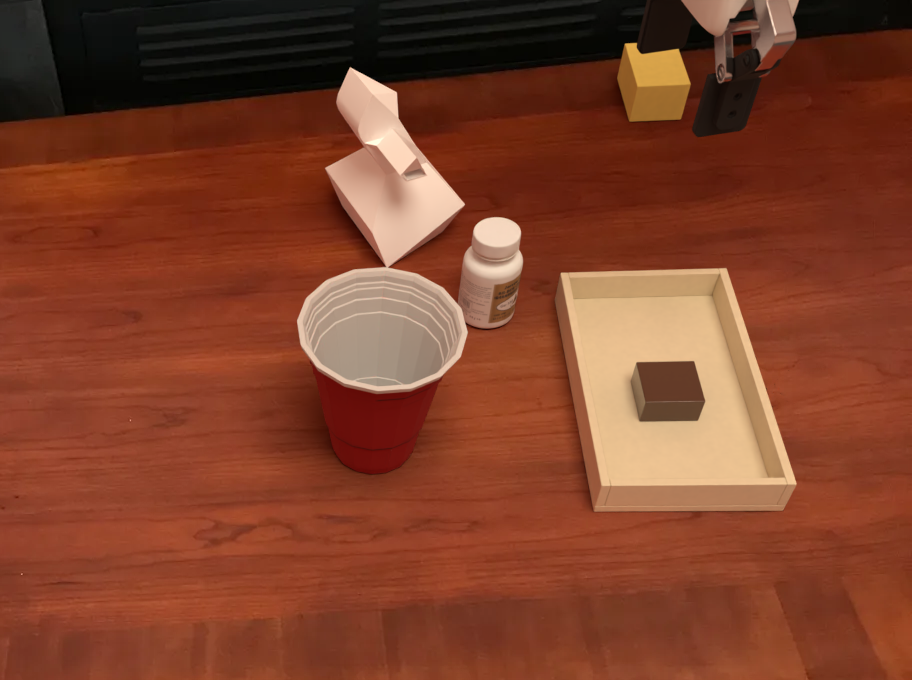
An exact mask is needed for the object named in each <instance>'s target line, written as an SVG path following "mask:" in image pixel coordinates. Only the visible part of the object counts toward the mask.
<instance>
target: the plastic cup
mask: <svg viewBox="0 0 912 680" xmlns="http://www.w3.org/2000/svg"><path fill="white" fill-rule="evenodd" d="M296 323H297V330H298V337H299V343H300V347H301V350H302V351H303V353H304V354H305V356H306V357H307V358H308V360H309V364H310V365H311V369H312V373H313V376H314V378H315V380H316V381H315V382H316V385H317V390H318V394H319V398H320V404H321V409H322V412H323V417H324V421H325V425H326V426H327V428H328V433H329V437H330V442H331V447H332V449H333V452H334V454H335V455H336V457H337V458H338V459H339V460H340V462H341V463H342V464H343V465H344V466H346V467H348V468H350V470H353V471H354V472H358V473H362V474H366V475H367V474H368V475H378V474H386V473H389V472H391V471H394V470H396V469H398V468H400V467H402V465H404V463H405V462H406V461H408V459H409V458H410V456H411V455H412V453H413V452H414V450H415V446H416V442H417V440H418V436H419V435H420V432H421V430H422V429H423V427H424V424H425V421H426V420H427V419H426V418H427V416H428V414H429V410H430V408H431V406H432V403H433V400H434V397H435V395H436V392H437V389H438V387H439V384H440V383H441V382H442V380H443V378H444V375H445V374H446V373H447V372H448V371H450V369H451V368H452V367H453V366H454V365H455V364H456V363H457V362H458V361H459V360H460V359H461V357H462V354H463V350H464V347H465V344H466V340H467V337H468V334H469V331H468V328H467V323H466V322H465V320H464V316H463V312H462V309H461V307H460V306H459V305H458V302H457V301H456V300H455V299H454V298H453V297H452V296H451V294H449V292H448V291H447V290H446V289H445V287H443V286H442V285H439V284H437V283H436V282H433V281H431V280H430V279H428V278H426V277H424V276H423V275H421V274H419V273H416V272H411V271H407V270H402V269H397V268H391V267H388V268H387V267H386V266H382V267H381V266H380V267H367V268H357V269H355V268H354V269H352V270H349V271H346V272H344V273H341V274H339V275H335V276H333V277H330V278H328V279H326V280H325V281H324V282H322V283H321V284H320V285H319V286H317V287H316V289H314V290H313V291H312V292H311V293H310V294H309V295H307V297H306V298H305V299H304V301H303V305H302V308H301V309H300V312H299V315H298V317H297V320H296Z"/></svg>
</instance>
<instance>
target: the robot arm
mask: <svg viewBox="0 0 912 680" xmlns="http://www.w3.org/2000/svg"><path fill="white" fill-rule="evenodd" d="M799 1H800V0H646V4H645V7H644V11H643V16H642V20H641V25H640V29H639V33H638V37H637V41H636V43H637V49H638V51H639V52H640V53H641V54H647V53H654V52H661V51H667V50H674V49H679V50H681V49H683V48H684V47H685V46H686V45H687V42H688V39H689V34H690V31H691V26H692V23H693V19H695V20H696V21H697V23H698V24H699V25H700V26H701V27H702V28H703V29H704V30H705V31H706V32H708V33H709V34H711V35H713V43H714V44H713V45H714V46H713V48H714V67H715V69H714V70H715V72H713V73H707V75H706V78H705V81H704V85H703V89H702V92H701V95H700V99H699V101H698V106H697V108H696V109H697V110H696V113H695V116H694V120H693V123H692V127H691V131H692V133H693V134H694V136H695V137H696V138H702V137H703V138H704V137H709V136H715V135H716V136H717V135H722V134H724V135H725V134H730V133H737V132H741V131H742V130H744V129H745V128H746V126H747V125H748V121H749V118H750V115H751V113H752V109H753V106H754V104H755V101H756V97H757V94H758V91H759V88H760V85H761V82H762V79H763V78H766V77H768V76H769V75H770V73H771V72H772V71H773V70H775V69H776V68H778V67H779V65H780V64H781V61H782V59H783V57H784V56H785V54H786V53H788V51H789V50H790V48H791V47H793V45H794V43H795V42H796V39H797V28H796V25H795V21H794V18H793V17H794V15H795V13H796V10H797V8H798V5H799ZM751 10H752V18H750V19H744V20H738V21H736V20H735V21H731V20H730V19H735V18H736V17H737V16H738V15H739V13H740V12H745V11H751ZM745 34H750V39H751V42H750V43H751V48H749V49H746V50H744V51H742V52H740V53H738V54H737V55H736V56H734V36H738V35H745Z"/></svg>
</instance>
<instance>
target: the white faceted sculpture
mask: <svg viewBox="0 0 912 680" xmlns="http://www.w3.org/2000/svg"><path fill="white" fill-rule="evenodd" d="M335 104H336V107H337V110H338V111H339V113H340V114H341V116H342V117H343V119H344V120H345V122H346V123H347V124H348V126H349V128H350V129H351V130H352V132H353V133H354V134H355V136H356V137H357V139H358V140H359V142H360V144H361V145H362V148H360V149H358V150H356V151H355V152H352V153H351V154H349V155H347V156H345V157H342V158H340V159H339V160H338V161H336V162H333V163H332V164H330V165H328V166H326V167H324V169H325V172H326V174H327V176H328V179H329V180H330V182H331V185H332V187H333V189H334V191H335V193H336V196H337V198H338V200H339V202H340V205H341V206H342V209H343V210H345V212H346V213H347V215H348V216H349V218H350V219H351V221H352V222H353V223H354V224H355V226H356V227H357V229H358V230H359V231H360V233H361V234H362V235H363V237H364V239H365V240H366V241H367V243H368V245H370V246H371V248H372V249H373V251H374V252H375V254H376V255H377V256H378V257H379V259H380V261H381V262H382V263H383V265H384V267H387V268H390V267H391V266H393V265H394V264H396V263H397V262H399V261H400V260H401V259H403V258H405V257H406V256H408V255H409V254H411V253H412V252H414V251H415V250H417V249H418V248H421V247H422V246H424V245H425V244H426V243H428V242H429V241H431V240H432V239H434V238H436V237H437V236H439V235H440V234H442V233H443V232H444V231H445V230H446V228H448V226H449V225H450V224H451V223H452V221H453V220H454V219H455V217H456V216H457V215H458V214H459V213H460V212H461V211H462V210H463V208H464V207H465V206H466V204H465V202H464V201H463V200H462V199H461V197H460V196H459V195H458V194H457V193H456V192H455V190H454V189H453V188H452V187H451V186H450V184H449V183H448V182H447V181H446V180H445V178H444V177H443V176H442V175H441V174H440V172H439V171H438V170H437V169H436V168H435V167H434V165H433V164H432V163H431V162H430V161H429V159H428V158H427V157H426V156H425V154H424V153H423V152H422V151H421V150H420V149H419V147H418V146H417V145H416V143H415V142H414V140H413V138H411V136H410V134H409V132H408V131H407V129H406V128H405V127H404V125H403V123H402V122H401V119H399V118H400V117H399V104H398V92H397V91H395V90H393V89H391V88H389V87H387V86H386V85H384V84H382V83H380V82H378V81H376V80H375V79H373V78H371V77H369V76H367V75H365V74H364V73H361V72H359V71H358V70H356V69H355V68H352V67H349V69H348V70H347V73H346V75H345V77H344V80H343V82H342V83H341V86H340V88H339V91H338V93H337V96H336V101H335Z"/></svg>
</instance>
